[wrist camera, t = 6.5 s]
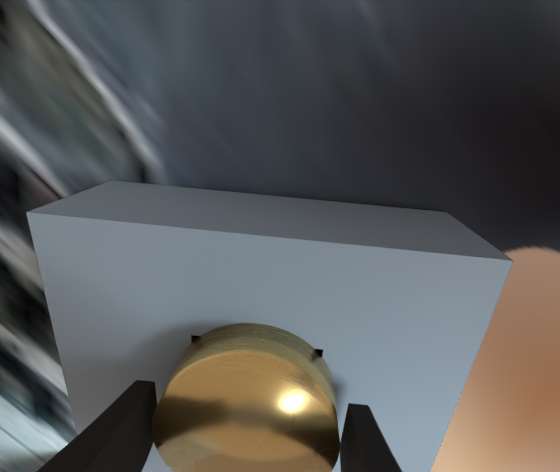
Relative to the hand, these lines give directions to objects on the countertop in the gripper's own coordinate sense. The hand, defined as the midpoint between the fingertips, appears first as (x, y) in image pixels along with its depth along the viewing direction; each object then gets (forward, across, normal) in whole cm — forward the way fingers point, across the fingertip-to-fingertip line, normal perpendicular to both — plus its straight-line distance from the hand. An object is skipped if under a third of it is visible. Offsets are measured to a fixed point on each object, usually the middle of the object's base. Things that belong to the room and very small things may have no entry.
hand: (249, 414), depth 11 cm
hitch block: (+5, 0, 0) cm, 5 cm away
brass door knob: (+5, 0, 0) cm, 5 cm away
